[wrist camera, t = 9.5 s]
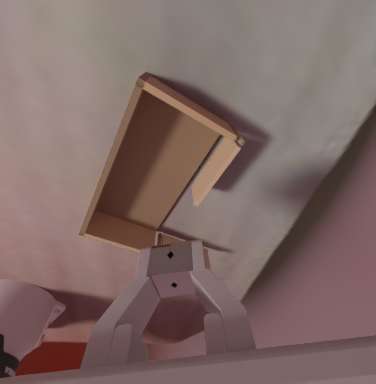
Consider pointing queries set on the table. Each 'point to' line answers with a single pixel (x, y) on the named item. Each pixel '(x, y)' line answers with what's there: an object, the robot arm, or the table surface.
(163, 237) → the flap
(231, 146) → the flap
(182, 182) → the carton
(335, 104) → the table surface
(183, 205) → the table surface
